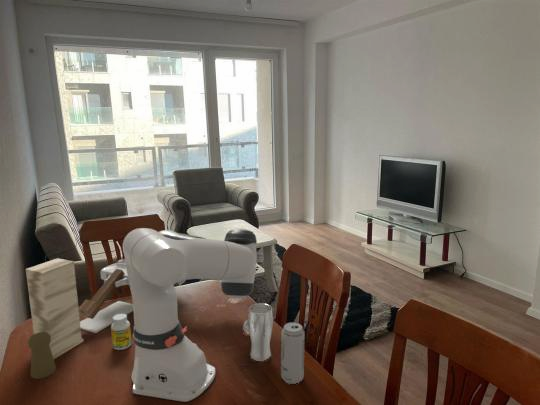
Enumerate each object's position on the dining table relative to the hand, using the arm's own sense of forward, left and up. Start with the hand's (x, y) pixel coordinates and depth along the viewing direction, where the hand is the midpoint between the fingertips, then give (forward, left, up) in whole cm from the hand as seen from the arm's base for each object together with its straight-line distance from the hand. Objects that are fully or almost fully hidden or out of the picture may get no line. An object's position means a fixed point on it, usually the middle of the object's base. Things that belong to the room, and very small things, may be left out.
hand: (110, 283), depth 133 cm
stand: (0, +21, -12) cm, 24 cm away
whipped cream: (-50, -10, -12) cm, 53 cm away
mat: (+1, +1, -12) cm, 12 cm away
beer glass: (-58, +1, -12) cm, 59 cm away
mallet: (0, +2, -3) cm, 4 cm away
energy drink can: (-70, +7, -12) cm, 71 cm away
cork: (-7, +32, -12) cm, 34 cm away
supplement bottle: (-17, +13, -12) cm, 25 cm away
